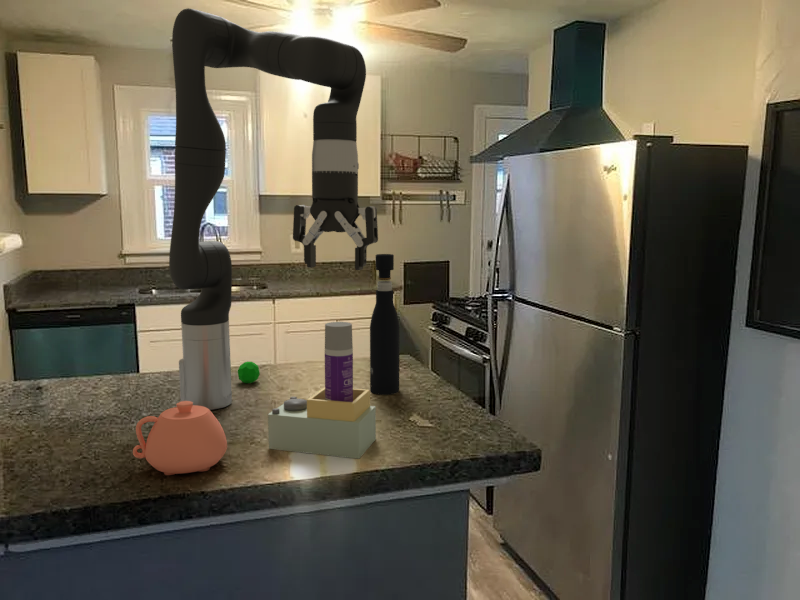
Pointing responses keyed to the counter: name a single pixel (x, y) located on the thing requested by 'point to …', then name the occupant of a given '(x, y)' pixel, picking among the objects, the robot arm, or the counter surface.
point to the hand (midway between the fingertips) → (335, 268)
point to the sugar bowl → (182, 439)
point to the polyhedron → (248, 372)
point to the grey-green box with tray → (324, 425)
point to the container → (338, 362)
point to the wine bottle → (384, 333)
